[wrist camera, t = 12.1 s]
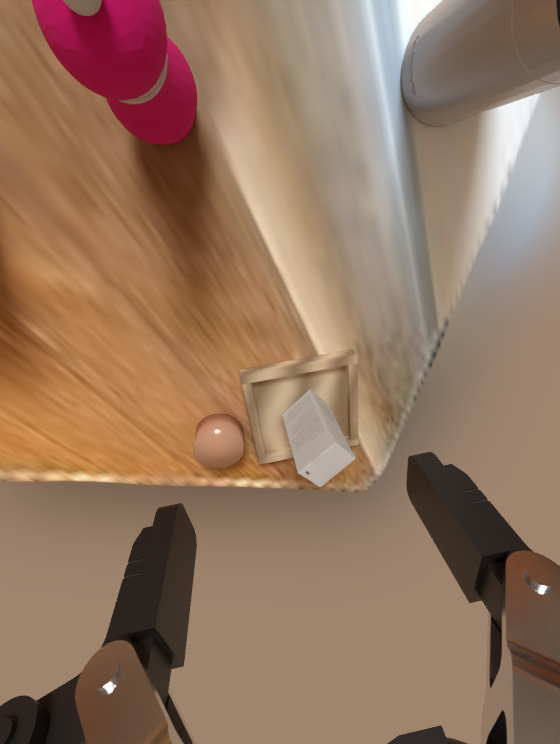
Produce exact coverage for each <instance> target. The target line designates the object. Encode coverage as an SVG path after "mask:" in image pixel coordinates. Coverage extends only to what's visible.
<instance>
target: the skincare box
mask: <svg viewBox="0 0 560 744" xmlns="http://www.w3.org/2000/svg"><path fill="white" fill-rule="evenodd" d="M282 417H283V421H284V424H285V428H286V432H287V436H288V439H289V443H290V447H291V450H292V454H293V457H294V461H295V465H296V469H297V472H298V474H300V475H301V476H303V477H305V478H306V479H308V480H309V481H311V482H312V483H314V484H316V485H317V486H319V487H322V486H323V485H324V484H325V483H326V482H328V481H329V480H330V479H331V478H333V477H334V476H335V475H336V474H338V473H339V472H340V471H341V470H342V469H344V468H345V467H346V466H347V465H349V464H350V463H351V462H352V461H354V460H355V459H356V458H355V456H354V454H353V452H352V450H351V448H350V446H349V444H348V442H347V440H346V438H345V436H344V434H343V433H342V431H341V429H340V427H339V425H338V423H337V421H336V419H335V417H334V415H333V413H332V411H331V409H330V407H329V406H328V404H327V403H326V402H325V401H324V400H322V399H321V398H320V397H319V396H318V395H317V394H316V393H314V392H313V391H312V390H311V389H309V390H308V391H307V392H306V393H305V394H304V395H303V396H302V397H301V398H300V399H299V400H297V401H296V402H295V403H294V404H293V405H292V406H291V407H290V408H289V409H288V410H287V411H285V412H284V413H283V414H282Z"/></svg>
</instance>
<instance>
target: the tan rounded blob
mask: <svg viewBox="0 0 560 744" xmlns="http://www.w3.org/2000/svg"><path fill="white" fill-rule="evenodd" d="M243 452H244V442H243V429H242V426H241V424H240V422H239V421H238V420H237V419H236V418H234V417H232V416H230V415H227V414H213V415H210V416H208V417H206V418H204V419H203V420H202V421H201V422H200V423H199V424H198V426H197V429H196V435H195V442H194V455H195V457H196V459H197V460H198V461H199V462H200V463H201V464H203V465H204V466H207V467H210V468H217V469H219V468H226V467H229V466H231V465H233V464H235V463H236V462H238V461H239V460H240V458H241V457H242V455H243Z"/></svg>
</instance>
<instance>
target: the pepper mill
mask: <svg viewBox="0 0 560 744" xmlns="http://www.w3.org/2000/svg"><path fill="white" fill-rule="evenodd" d="M32 4H33V7H34V11H35V14H36V17H37V20H38V23H39V26H40V28H41V31H42V33H43V35H44V37H45V39H46V41H47V43H48V45H49V47H50V48H51V50H52V51H53V53H54V54H55V56H56V57H57V59H58V60H59V61H60V63H61V64H62V65H63V66H64V68H65V69H66V70H67V71H68V72H69V73H70V74H71V75H72V76H73V77H74V78H75V79H76V80H77V81H78V82H80V83H81V84H82V85H84V86H85V87H86V88H88V89H90V90H91V91H93V92H95V93H97V94H99V95H101V96H103V97H105V98H106V99H107V102H108V104H109V106H110V108H111V110H112V111H113V113H114V114H115V116H116V117H117V119H118V120H119V121H120V122H121V123H122V125H123V126H124V127H125V128H126V129H127V130H128V131H129V132H130V133H132V134H133V135H134V136H136V137H137V138H139V139H141V140H143V141H145V142H148V143H151V144H158V145H162V144H163V145H171V144H175V143H177V142H179V141H181V140H182V139H184V138H185V137H186V136H187V135H188V133H189V132H190V130H191V128H192V126H193V123H194V119H195V114H196V108H197V91H196V85H195V81H194V77H193V74H192V72H191V69H190V67H189V65H188V63H187V61H186V60H185V58H184V56H183V54H182V53H181V52H180V50H179V49H178V47H177V46H176V45H175V44H174V43H173V42H172V41H171V40H170V39H169V38H168V37H167V33H166V24H165V19H164V14H163V10H162V7H161V4H160V1H159V0H32Z"/></svg>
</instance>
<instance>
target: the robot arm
mask: <svg viewBox="0 0 560 744" xmlns="http://www.w3.org/2000/svg"><path fill="white" fill-rule="evenodd" d="M401 78H402V90H403V95H404V99H405V101H406V104H407V106H408V108H409V110H410V111H411V113H412V114H413V116H414V117H416V118H417V119H418V120H419V121H420V122H422V123H424V124H427V125H430V126H443V125H447V124H450V123H453V122H456V121H459V120H461V119H464V118H467V117H471V116H474V115H476V114H479V113H482V112H485V111H488V110H491V109H494V108H497V107H500V106H502V105H505V104H508V103H511V102H514V101H517V100H520V99H523V98H526V97H528V96H531V95H534V94H537V93H540V92H543V91H546V90H548V89H551V88H554V87H557V86H560V0H442V1H441V2H440V3H439V4H438V5H437V6H436V7H435V8H434V9H433V10H432V11H431V12H430V13H428V14H427V16H426V17H425V18H424V19H423V20H422V21H421V22H420V23H419V25H418V26H417V28H416V29H415V31H414V33H413V34H412V36H411V38H410V41H409V43H408V45H407V48H406V51H405V55H404V59H403V65H402V73H401ZM407 492H408V495H409V498H410V500H411V503H412V505H413V506H414V508H415V509H416V511H417V513H418V515H419V517H420V518H421V520H422V522H423V524H424V525H425V527H426V529H427V530H428V532H429V534H430V536H431V537H432V538H433V541H434V543H435V544H436V546H437V548H438V549H439V551H440V553H441V554H442V556H443V558H444V560H445V562H446V563H447V565H448V567H449V568H450V570H451V572H452V574H453V575H454V577H455V579H456V580H457V582H458V584H459V585H460V587H461V589H462V591H463V592H464V594H465V596H466V598H467V599H468V601H469V603H472V602H476V601H481V600H482V601H483V603H484V604H485V606H486V608H487V609H488V611H489V614H488V640H487V671H486V693H485V701H484V706H483V714H482V727H481V729H482V730H481V744H560V566H559V565H557V564H556V563H555V562H553V561H552V560H550V559H549V558H547V557H545V556H543V555H541V554H538V553H535V552H533V551H532V550H531V549H530V548H528V546H527V545H526V544H525V543H524V542H523V541H522V540H521V538H520V537H519V536H518V535H517V534H516V532H515V531H514V530H513V529H512V528H511V526H510V525H509V524H508V523H507V522H506V520H505V519H504V518H503V517H502V516H501V515H500V513H499V512H498V511H497V510H496V508H495V507H494V506H493V505H492V504H491V503H490V501H488V500H487V498H486V497H485V496H484V494H483V493H482V492H481V491H480V490H478V487H477V486H476V485H475V483H474V482H473V481H472V480H471V479H470V477H469V476H468V475H467V474H466V473H464V472H463V471H461V470H459V469H458V468H457V467H455V466H454V465H452V464H449V465H444V466H443V464H442V463H441V462H440V460H439V459H438V458H437V457H436V455H435V454H434V453H432V452H427V453H422V454H418V455H413V456H409V458H408V471H407ZM196 547H197V543H196V534H195V530H194V528H193V526H192V523H191V521H190V519H189V517H188V515H187V513H186V511H185V508H184V506H183V505H182V504H181V503H179V504H175V505H170V506H165V507H160V508H158V510H157V512H156V515H155V519H154V523H153V526H151V527H146V528H143V530H142V531H141V533H140V535H139V536H138V537H137V539H136V541H135V542H134V544H133V547H132V550H131V553H130V557H129V560H128V565H127V568H126V571H125V574H124V579H123V581H122V584H121V588H120V591H119V594H118V598H117V602H116V605H115V608H114V612H113V615H112V618H111V622H110V626H109V629H108V632H107V636H106V638H105V641H104V643H103V645H102V647H101V649H99V650H98V651H97V652H96V653H95V654H94V655H93V656H92V657H91V659H90V660H89V661H88V663H87V664H86V666H85V667H84V669H83V671H82V672H81V673H80V674H79V675H78V676H76V677H75V678H73V679H72V680H70V681H68V682H67V683H65V684H63V685H62V686H60V687H59V688H57V689H55V690H53V691H52V692H50V693H49V694H47V695H45V696H44V697H42V698H40V699H39V700H37V701H36V700H34V699H33V698H31V697H29V696H18V697H15V698H13V699H11V700H9V701H7V702H6V703H4V704H3V705H1V706H0V744H196V742H195V740H194V738H193V736H192V734H191V732H190V730H189V728H188V726H187V724H186V722H185V720H184V718H183V716H182V714H181V712H180V710H179V708H178V706H177V704H176V702H175V700H174V698H173V696H172V694H171V692H170V690H169V681H170V673H171V669H174V668H178V667H182V666H184V659H185V650H186V641H187V631H188V622H189V613H190V604H191V594H192V585H193V576H194V566H195V557H196ZM388 744H467V743H465V742H462V741H459V740H456V739H452V738H446V736H445V734H444V731H443V728H442V726H437V727H433V728H428V729H424V730H420V731H416V732H412V733H408V734H403V735H399V736H398V737H396V738H395V739H393V740H392V741H391V742H389V743H388Z"/></svg>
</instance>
